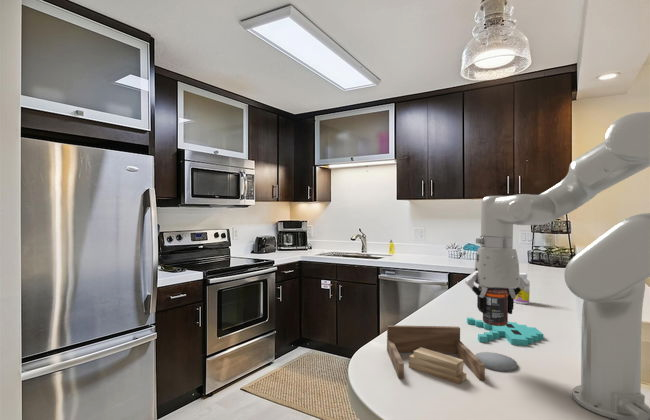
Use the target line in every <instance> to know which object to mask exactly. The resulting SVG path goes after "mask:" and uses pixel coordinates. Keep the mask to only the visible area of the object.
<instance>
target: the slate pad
mask: <svg viewBox="0 0 650 420" xmlns="http://www.w3.org/2000/svg"><path fill="white" fill-rule="evenodd" d="M474 355H475V356H476V357H477V358H478V359H479V360H480V361H481V362H482V363H483V364H484V365H485V369H488V370H492V371H498V372H513V371H515V370H517V368H518V363H517V361H516V360H515V359H514V358H512V357H510V356H508V355H506V354H501V353H497V352H493V351H492V352H490V351H489V352H488V351H487V352H486V351H482V352H478V353H475V354H474Z"/></svg>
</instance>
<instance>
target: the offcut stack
mask: <svg viewBox="0 0 650 420" xmlns="http://www.w3.org/2000/svg"><path fill="white" fill-rule="evenodd" d="M408 357H409V358H408V365H407V366H408V367H409V368H412V369H413V370H417V371H420V372H422V373H425V374H428V375H431V376H435V377H437V378H440V379H442V380H446V381H448V382H450V383H454V384H457V385H460V384H462V383H463V382H464V381H465V380H467V373H466V372H464V362H463V360H462V359H460V358H459V357H455V356H452V355H449V354H446V353H438V352H435V351H432V350H428V349H425V348H422V347H420V348H419V349H417V350H415V351H414V352H413V353H412V354H411V355H409V356H408Z"/></svg>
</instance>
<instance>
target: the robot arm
mask: <svg viewBox="0 0 650 420" xmlns="http://www.w3.org/2000/svg"><path fill="white" fill-rule="evenodd" d="M649 167H650V111H642V112H641V111H639V112H638V111H637V112H633V113H629V114H626V115H624V116H621V117H620V118H618V119H616V120H615V121H614V122H613V123H612V124H610V126H609V127H608V128H607V130H606V132H605V135H604V141H602V142H601V143H599V144H598V145H596V146H594V147H593V148H591V149H590V150H588V151H586V152H584V153H583V154H582V155H580V156H578V157H576V158H574V159H573V160H572V161H571V162H570V164H569V167H568V172H567V174H566V176H565V177H564V178H563V179H561V181H560V182H558V183H556V184H555V185H553V186H552V187H550V188H549V189H547V190H545V191H543V192H541V193H540V194H529V193H521V194H520V193H519V194H513V195H511V194H510V195H487V196H484V197H483V198H482V199H481V213H480V215H481V218H480V224H481V225H480V236H479V238H475V243H476V244H479V246H480V247H477V248H478V249H477V253H476V256H475V261H474V262H475V263H474V272H473V273H472V274H471V275H470V276H469V277H468V278H467V279H466V280H465V285H466V286H468V288H470V290H471V291H472V292H473V293H474V294H475V296H477V302H476V305H477V306H476V307H477V309H478V311H479V312H480V313H482V314H483V313H486V304H487V299H486V298H485V294H486V291H487V289H488V288H505V289H506V290H507V291H508V315H512V314H513V310H514V305H515V304H514V303H515V302H514V298H516V295H517V294H518V293H519V292H520V291H521V290H522V289H523V288H524V287H525V286H526V285H527V284H526V283H525V281H524V280H523V279H522V278H521V277H520V274H519V273H520V266H519V262H520V261H519V257H518V252H517V249H516V248H514V247H513V245H514V243H513V242H514V225H517V226H542V225H547V224H549V223H552V222H554V221H556V220H558V219H560V218H562V217H564V216H566V215H568V214H570V213H572V212H573V211H576V210H577V209H579V208H580V207H582V206H583V205H585V204H586V203H587V202H589V201H590V200H592V199H593V198H595V197H596V196H597V195H598V194H600V193H602V192H604V191H606V190H607V189H609V188H611V187H613V186H615V185H616V184H619V183H620V182H622V181H624V180H626V179H628V178H630V177H632V176H634V175H636V174H638V173H640V172H641V171H644V170H645V169H647V168H649ZM563 275H564V281H565V284H566V286H567V288H568V289H569V291H570V292H571V293H572V294H573V295H574V296H576V297H577V298H579V299H580V300H583V301H582V310H581V311H582V312H581V343H580V344H581V346H580V348H581V353H580V356H581V358H580V360H581V362H580V367H581V368H580V374H581V375H580V384H579V385H576V386H574V387H573V388H572V389H571V396H572V398H573V400H574V401H575V402H576V403H577V404H578V405H580V406H581V407H583V408H585V409H586V410H589V411H590V412H592V413H595V414H597V415H600V416H603V417H606V418H609V419H613V420H650V406H649V405H648V404H646V401H645V399H646V398H645V396H646V395H645V394H643V393H642V390H641V389H642V385H641V384H642V383H641V381H642V331H643V330H642V329H643V328H642V327H643V326H642V321H643V319H642V318H643V307H644V306H643V304H644V299H645V291H646V280H648V278H650V212H649V213H648V212H646V213H645V212H643V213H638V214H635V215H632V216H629V217H627V218H625V219H623V220H621V221H619V222H618V223H617V224H615V225H613V226H612V227H611V228H609V229H608V230H606V231H605V232H604V233H603V234H602V235H600V236H599V237H598V238H597V239H595V240H594V241H592V242H591V243H590V244H588V245H587V246H586V247H585V248H583V249H581V251H579V252H577V254H576V255H574V256H573V257H572V258H571V259H570V260H569V261H568V262H567V264H566V266H565V269H564V274H563ZM474 283H475V284H477V285H478V286H477V285H475V284H474Z"/></svg>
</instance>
